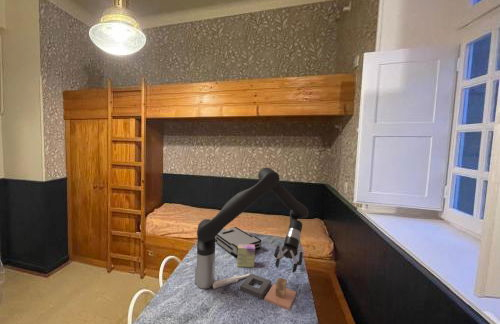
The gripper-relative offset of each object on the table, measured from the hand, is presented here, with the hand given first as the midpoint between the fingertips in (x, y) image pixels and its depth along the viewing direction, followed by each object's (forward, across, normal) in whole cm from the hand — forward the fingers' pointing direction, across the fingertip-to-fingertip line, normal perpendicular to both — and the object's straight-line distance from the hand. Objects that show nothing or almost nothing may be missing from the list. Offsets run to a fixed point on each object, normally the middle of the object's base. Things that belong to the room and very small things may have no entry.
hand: (285, 269), depth 105 cm
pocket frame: (+12, -14, +5) cm, 18 cm away
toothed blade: (+13, -26, +4) cm, 30 cm away
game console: (-12, -46, +29) cm, 56 cm away
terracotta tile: (+11, 0, +5) cm, 12 cm away
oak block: (+10, 0, +4) cm, 11 cm away
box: (0, -28, +16) cm, 33 cm away
